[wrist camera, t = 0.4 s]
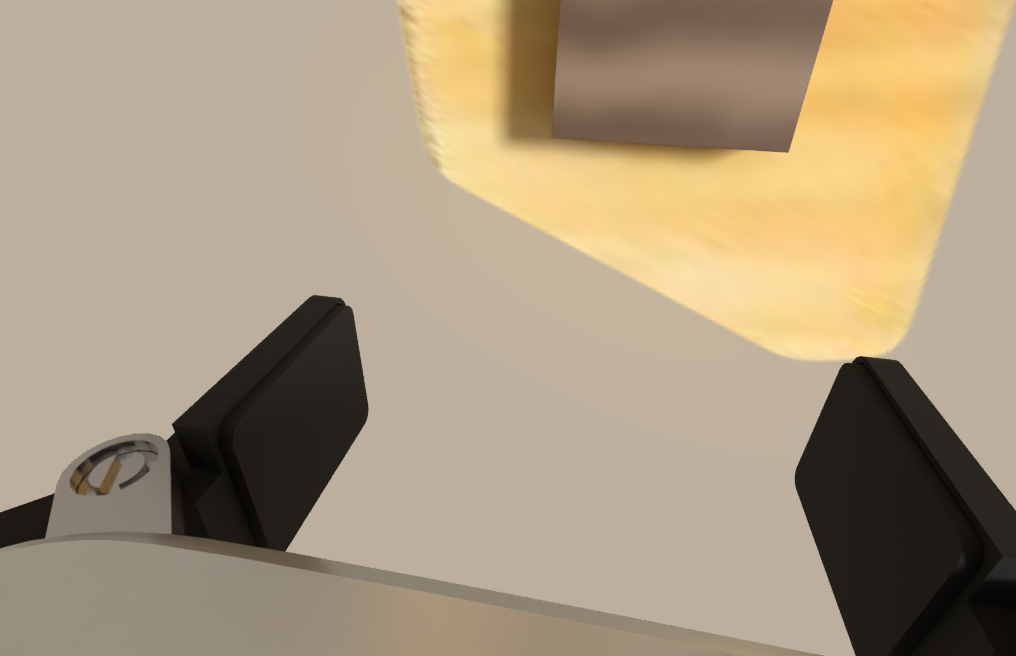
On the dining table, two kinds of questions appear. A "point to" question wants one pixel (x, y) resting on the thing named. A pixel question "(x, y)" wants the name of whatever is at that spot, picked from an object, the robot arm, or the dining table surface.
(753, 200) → the dining table surface
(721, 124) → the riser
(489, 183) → the dining table surface
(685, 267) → the dining table surface
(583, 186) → the dining table surface
